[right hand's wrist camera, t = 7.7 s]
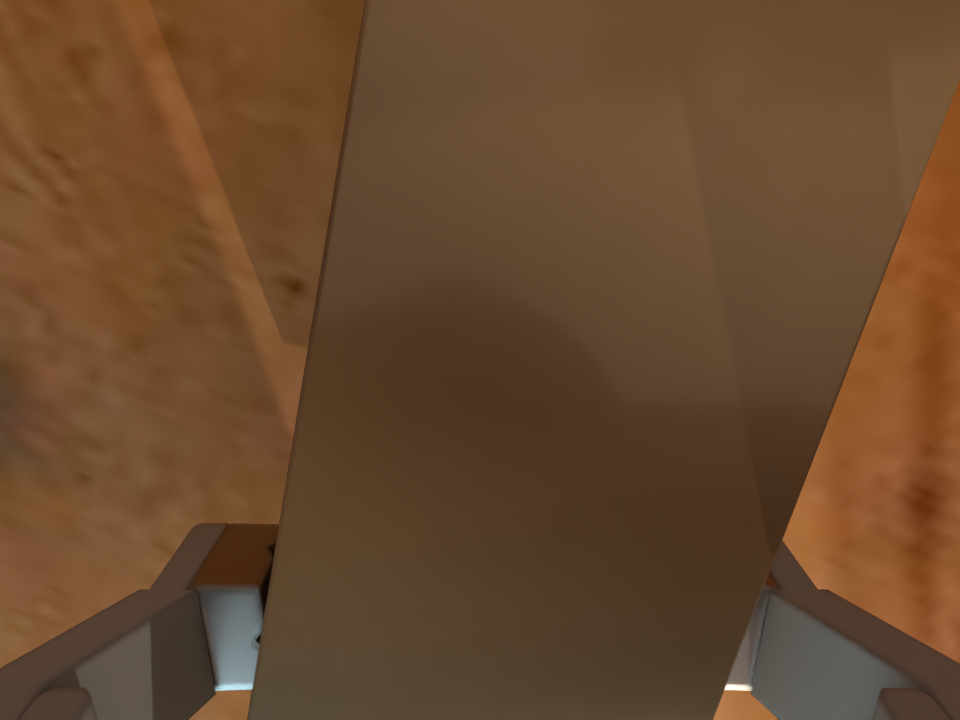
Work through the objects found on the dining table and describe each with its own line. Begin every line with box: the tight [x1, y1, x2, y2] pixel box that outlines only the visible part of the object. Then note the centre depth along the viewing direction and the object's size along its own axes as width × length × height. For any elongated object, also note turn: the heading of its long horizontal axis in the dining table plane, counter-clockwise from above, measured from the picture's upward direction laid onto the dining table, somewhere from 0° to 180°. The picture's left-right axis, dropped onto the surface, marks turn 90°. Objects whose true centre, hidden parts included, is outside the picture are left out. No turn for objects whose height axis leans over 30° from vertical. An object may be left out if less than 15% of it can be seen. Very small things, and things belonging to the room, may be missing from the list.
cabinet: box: [247, 0, 960, 720], centre depth 11 cm, size 18×6×10 cm, turn 167°
